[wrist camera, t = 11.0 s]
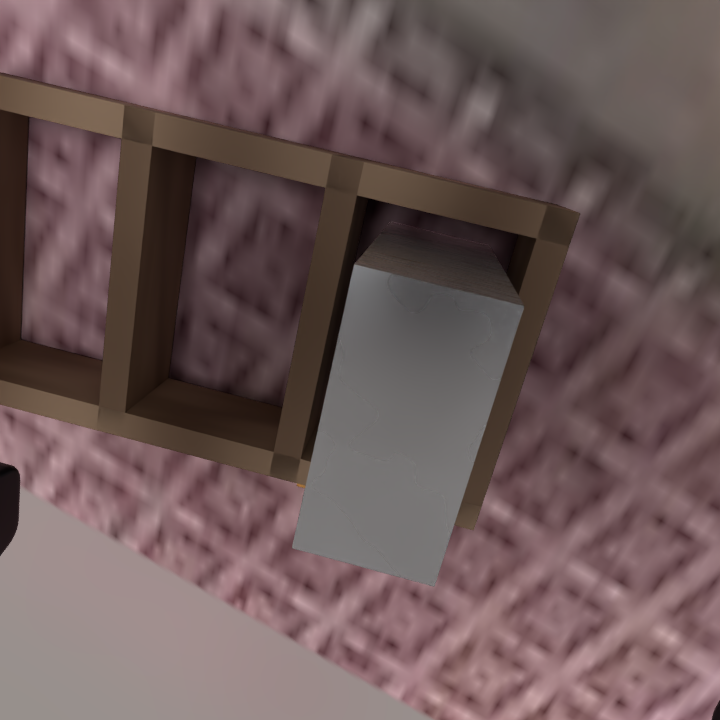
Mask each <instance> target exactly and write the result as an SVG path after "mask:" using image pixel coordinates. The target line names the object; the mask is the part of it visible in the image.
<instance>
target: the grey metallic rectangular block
mask: <svg viewBox="0 0 720 720" xmlns="http://www.w3.org/2000/svg"><path fill="white" fill-rule="evenodd" d="M523 309H524V304H523V303H522V301H521V299H520V297H519V296H518V294H517V292H516V290H515V289H514V287H513V285H512V284H511V282H510V280H509V278H508V277H507V275H506V273H505V271H504V270H503V268H502V266H501V264H500V263H499V261H498V259H497V257H496V256H495V254H494V252H493V250H492V249H491V247H490V245H487V244H482V243H478V242H474V241H470V240H466V239H462V238H458V237H453V236H449V235H445V234H441V233H437V232H433V231H429V230H424V229H420V228H416V227H412V226H408V225H404V224H400V223H395V222H391V221H390V223H389V224H388V225H387V226H386V227H385V229H384V230H383V231H382V232H381V233H380V234H379V236H378V237H377V238H376V239H375V240H374V242H373V243H372V244H371V245H370V246H369V247H368V249H367V250H366V251H365V252H364V253H363V255H362V256H361V257H360V258H359V259H358V260H357V262H356V263H355V264H354V268H353V272H352V277H351V281H350V286H349V290H348V295H347V300H346V304H345V309H344V313H343V318H342V322H341V327H340V331H339V336H338V341H337V345H336V350H335V354H334V359H333V363H332V368H331V372H330V377H329V382H328V386H327V391H326V395H325V400H324V404H323V409H322V413H321V418H320V423H319V427H318V432H317V436H316V441H315V445H314V450H313V454H312V459H311V464H310V468H309V473H308V477H307V482H306V486H305V491H304V495H303V500H302V504H301V509H300V514H299V518H298V523H297V527H296V532H295V536H294V541H293V545H292V548H293V549H297V550H301V551H304V552H308V553H312V554H316V555H319V556H323V557H327V558H330V559H334V560H338V561H341V562H345V563H349V564H353V565H356V566H360V567H364V568H367V569H371V570H375V571H378V572H382V573H386V574H389V575H393V576H397V577H401V578H404V579H408V580H412V581H415V582H419V583H423V584H426V585H430V586H435V583H436V580H437V577H438V574H439V570H440V567H441V564H442V561H443V558H444V555H445V552H446V549H447V546H448V542H449V539H450V536H451V533H452V530H453V527H454V524H455V521H456V518H457V514H458V511H459V508H460V505H461V502H462V499H463V496H464V493H465V490H466V486H467V483H468V480H469V477H470V474H471V471H472V468H473V465H474V462H475V458H476V455H477V452H478V449H479V446H480V443H481V440H482V437H483V434H484V430H485V427H486V424H487V421H488V418H489V415H490V412H491V409H492V406H493V402H494V399H495V396H496V393H497V390H498V387H499V384H500V381H501V378H502V374H503V371H504V368H505V365H506V362H507V359H508V356H509V353H510V350H511V346H512V343H513V340H514V337H515V334H516V331H517V328H518V325H519V322H520V318H521V315H522V312H523Z"/></svg>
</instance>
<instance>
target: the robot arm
mask: <svg viewBox="0 0 720 720" xmlns="http://www.w3.org/2000/svg"><path fill="white" fill-rule="evenodd" d="M19 497H20V474H19V471H18V470H17V469H16V468H15V467H14V466H12V465H8V464H4V463H1V462H0V556H1V554H2V553H3V552H4V550H5V549H6V548H7V546H8V545H9V543H10V542H11V541H12V539H13V537H14V535H15V533H16V530H17V526H18V521H19ZM712 720H720V701H719V702H718V704H717V706H716V708H715V710H714V712H713V716H712Z"/></svg>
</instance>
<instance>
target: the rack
mask: <svg viewBox="0 0 720 720" xmlns="http://www.w3.org/2000/svg"><path fill="white" fill-rule="evenodd" d="M29 116H30V117H34V118H38V119H42V120H46V121H51V122H55V123H59V124H63V125H67V126H71V127H75V128H80V129H84V130H88V131H92V132H96V133H100V134H105V135H109V136H113V137H117V138H121V139H122V140H121V152H120V163H119V175H118V187H117V199H116V210H115V222H114V234H113V245H112V257H111V269H110V281H109V292H108V304H107V316H106V328H105V339H104V351H103V361H101V360H97V359H93V358H89V357H85V356H81V355H78V354H74V353H70V352H66V351H62V350H58V349H55V348H51V347H47V346H43V345H39V344H35V343H31V342H28V341H24V340H20V338H21V310H22V283H23V255H24V228H25V200H26V173H27V145H28V118H29ZM196 157H200V158H204V159H208V160H212V161H217V162H221V163H225V164H229V165H233V166H237V167H241V168H246V169H250V170H254V171H258V172H262V173H266V174H271V175H275V176H279V177H283V178H287V179H291V180H295V181H300V182H304V183H308V184H312V185H316V186H320V187H324V188H325V193H324V198H323V204H322V209H321V214H320V219H319V224H318V229H317V234H316V239H315V244H314V249H313V254H312V260H311V265H310V270H309V275H308V280H307V285H306V290H305V295H304V300H303V305H302V310H301V316H300V321H299V326H298V331H297V336H296V341H295V346H294V351H293V356H292V361H291V366H290V372H289V377H288V382H287V387H286V392H285V397H284V402H283V407H278V406H274V405H270V404H266V403H262V402H258V401H255V400H251V399H247V398H243V397H239V396H235V395H232V394H228V393H224V392H220V391H216V390H212V389H208V388H205V387H201V386H197V385H193V384H189V383H185V382H182V381H178V380H174V379H170V378H168V377H169V369H170V361H171V353H172V345H173V337H174V329H175V321H176V313H177V305H178V298H179V290H180V282H181V274H182V266H183V258H184V250H185V242H186V234H187V226H188V218H189V210H190V202H191V194H192V186H193V178H194V170H195V162H196ZM368 198H370V199H374V200H378V201H383V202H387V203H391V204H395V205H399V206H403V207H407V208H412V209H416V210H420V211H424V212H428V213H432V214H437V215H441V216H445V217H449V218H453V219H457V220H461V221H466V222H470V223H474V224H478V225H482V226H486V227H490V228H495V229H499V230H503V231H507V232H511V233H515V234H519V235H518V238H517V242H516V245H515V248H514V251H513V255H512V258H511V261H510V264H509V268H508V271H507V274H506V275H507V277H508V278H509V280H510V282H511V284H512V285H513V287H514V289H515V290H516V292H517V294H518V296H519V297H520V299H521V301H522V303H523V304H524V309H523V312H522V315H521V318H520V322H519V325H518V328H517V331H516V334H515V337H514V340H513V343H512V346H511V350H510V353H509V356H508V359H507V362H506V365H505V368H504V371H503V374H502V378H501V381H500V384H499V387H498V390H497V393H496V396H495V399H494V402H493V406H492V409H491V412H490V415H489V418H488V421H487V424H486V427H485V430H484V434H483V437H482V440H481V443H480V446H479V449H478V452H477V455H476V458H475V462H474V465H473V468H472V471H471V474H470V477H469V480H468V483H467V486H466V490H465V493H464V496H463V499H462V502H461V505H460V508H459V511H458V514H457V518H456V521H455V524H454V525H456V526H459V527H463V528H467V529H471V530H474V527H475V524H476V521H477V518H478V515H479V512H480V509H481V506H482V503H483V500H484V498H485V495H486V492H487V489H488V486H489V483H490V480H491V477H492V474H493V471H494V468H495V465H496V462H497V459H498V456H499V453H500V450H501V447H502V444H503V441H504V438H505V435H506V432H507V429H508V426H509V423H510V420H511V417H512V414H513V411H514V409H515V406H516V403H517V400H518V397H519V394H520V391H521V388H522V385H523V382H524V379H525V376H526V373H527V370H528V367H529V364H530V361H531V358H532V355H533V352H534V349H535V346H536V343H537V340H538V337H539V334H540V331H541V328H542V325H543V322H544V319H545V317H546V314H547V311H548V308H549V305H550V302H551V299H552V296H553V293H554V290H555V287H556V284H557V281H558V278H559V275H560V272H561V269H562V266H563V263H564V260H565V257H566V254H567V251H568V248H569V245H570V242H571V239H572V236H573V233H574V230H575V228H576V225H577V222H578V219H579V216H580V213H578V212H575V211H573V210H570V209H567V208H565V207H562V206H559V205H556V204H552V203H548V202H544V201H539V200H535V199H531V198H527V197H523V196H518V195H514V194H510V193H506V192H502V191H497V190H493V189H489V188H485V187H481V186H476V185H472V184H468V183H464V182H460V181H455V180H451V179H447V178H443V177H439V176H434V175H430V174H426V173H422V172H418V171H413V170H409V169H405V168H401V167H397V166H392V165H388V164H384V163H380V162H376V161H371V160H367V159H363V158H359V157H354V156H350V155H346V154H342V153H338V152H333V151H329V150H325V149H321V148H317V147H312V146H308V145H304V144H300V143H296V142H291V141H287V140H283V139H279V138H275V137H270V136H266V135H262V134H258V133H254V132H249V131H245V130H241V129H237V128H233V127H228V126H224V125H220V124H216V123H212V122H207V121H203V120H199V119H195V118H191V117H186V116H182V115H178V114H174V113H170V112H165V111H161V110H157V109H153V108H148V107H144V106H140V105H136V104H132V103H127V102H123V101H119V100H115V99H111V98H106V97H102V96H98V95H94V94H90V93H85V92H81V91H77V90H73V89H69V88H64V87H60V86H56V85H52V84H48V83H43V82H39V81H35V80H31V79H27V78H22V77H18V76H14V75H10V74H6V73H1V72H0V405H4V406H8V407H12V408H15V409H19V410H23V411H27V412H30V413H34V414H38V415H42V416H45V417H49V418H53V419H57V420H61V421H64V422H68V423H72V424H76V425H79V426H83V427H87V428H91V429H94V430H98V431H102V432H106V433H109V434H113V435H117V436H121V437H124V438H128V439H132V440H136V441H140V442H143V443H147V444H151V445H155V446H158V447H162V448H166V449H170V450H173V451H177V452H181V453H185V454H188V455H192V456H196V457H200V458H203V459H207V460H211V461H215V462H219V463H222V464H226V465H230V466H234V467H237V468H241V469H245V470H249V471H252V472H256V473H260V474H264V475H267V476H271V477H275V478H279V479H282V480H286V481H290V482H294V483H297V486H299V487H302V488H305V486H306V482H307V477H308V473H309V468H310V464H311V459H312V454H313V450H314V445H315V441H316V436H317V432H318V427H319V423H320V416H321V411H322V407H323V402H324V398H325V393H326V389H327V384H328V379H329V375H330V370H331V366H332V361H333V357H334V352H335V348H336V343H337V339H338V334H339V330H340V325H341V321H342V316H343V311H344V307H345V302H346V298H347V293H348V289H349V284H350V280H351V275H352V271H353V266H354V262H355V257H356V253H357V248H358V243H359V239H360V234H361V230H362V225H363V221H364V216H365V212H366V207H367V203H368Z"/></svg>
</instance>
